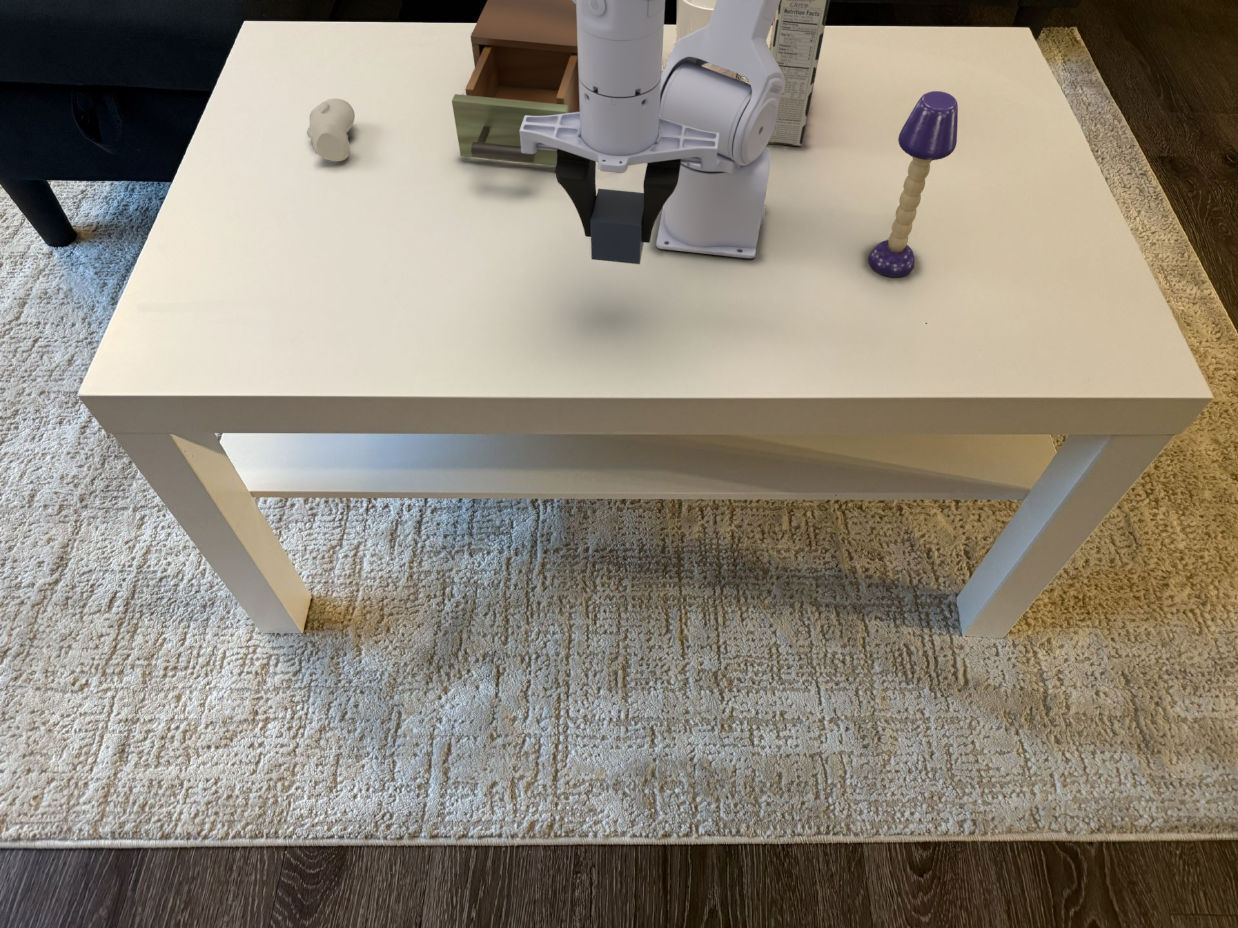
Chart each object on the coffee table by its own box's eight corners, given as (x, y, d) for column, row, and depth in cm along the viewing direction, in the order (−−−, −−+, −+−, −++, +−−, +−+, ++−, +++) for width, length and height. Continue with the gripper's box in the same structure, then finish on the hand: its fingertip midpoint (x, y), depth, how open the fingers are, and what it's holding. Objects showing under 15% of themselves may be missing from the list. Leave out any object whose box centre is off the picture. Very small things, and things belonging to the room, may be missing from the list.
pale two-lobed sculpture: (324, 132, 95) (366, 119, 94) (312, 176, 90) (355, 162, 89) (301, 98, 92) (344, 83, 91) (287, 141, 87) (332, 127, 86)
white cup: (671, 59, 102) (677, -29, 94) (738, 61, 102) (749, -27, 94) (671, 97, 98) (676, 8, 89) (741, 99, 98) (753, 10, 89)
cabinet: (591, 118, 95) (590, 47, 89) (479, 107, 96) (470, 36, 90) (610, 52, 103) (610, -18, 96) (507, 43, 104) (500, -27, 97)
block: (645, 232, 73) (647, 193, 69) (639, 264, 70) (641, 225, 67) (598, 227, 73) (598, 188, 70) (591, 259, 71) (590, 220, 68)
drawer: (560, 193, 86) (557, 137, 81) (449, 181, 87) (439, 125, 82) (589, 98, 96) (588, 43, 91) (489, 89, 97) (482, 33, 92)
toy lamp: (868, 279, 81) (920, 118, 67) (857, 245, 83) (904, 84, 70) (918, 277, 81) (980, 115, 67) (905, 243, 84) (962, 82, 70)
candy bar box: (762, 86, 99) (785, -68, 86) (806, 90, 99) (836, -64, 85) (755, 144, 93) (779, -13, 79) (802, 149, 92) (834, -8, 79)
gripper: (504, 98, 58) (521, 255, 69) (721, 117, 57) (702, 274, 68) (525, 42, 62) (538, 199, 73) (728, 59, 61) (709, 216, 72)
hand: (618, 231), depth 71 cm, fingers closed on block, 4 cm apart
